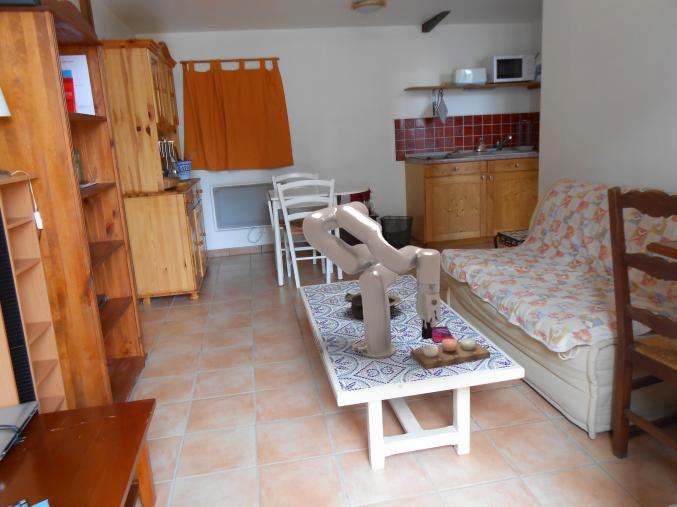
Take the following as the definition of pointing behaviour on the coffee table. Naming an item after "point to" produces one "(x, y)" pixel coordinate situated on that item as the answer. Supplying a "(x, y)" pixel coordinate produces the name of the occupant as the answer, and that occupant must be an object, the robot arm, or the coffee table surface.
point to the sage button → (467, 344)
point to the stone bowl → (358, 305)
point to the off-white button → (430, 350)
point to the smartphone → (440, 334)
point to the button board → (449, 356)
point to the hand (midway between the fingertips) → (426, 337)
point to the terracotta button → (449, 344)
